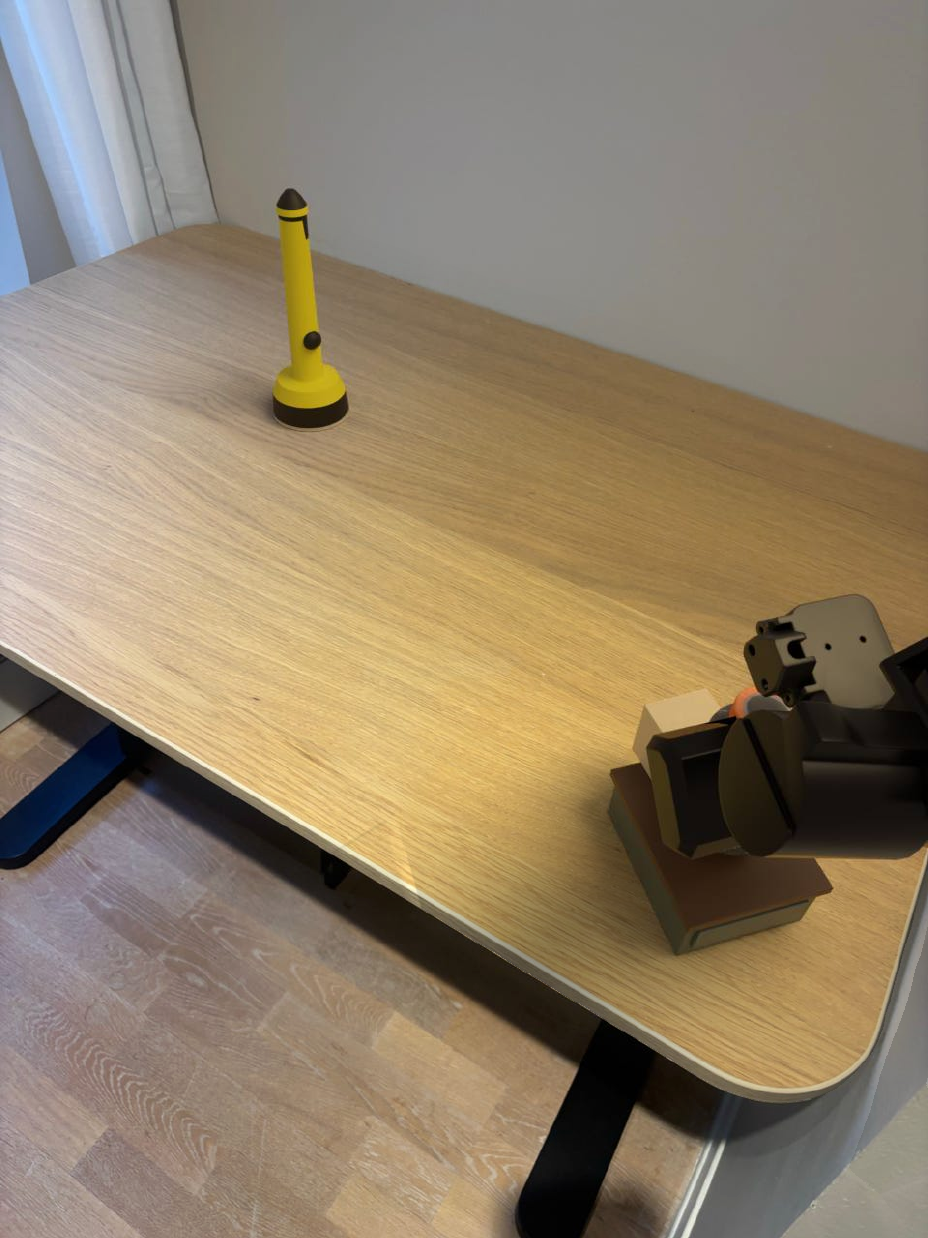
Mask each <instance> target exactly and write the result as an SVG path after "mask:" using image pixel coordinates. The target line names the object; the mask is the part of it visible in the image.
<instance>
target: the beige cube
mask: <svg viewBox="0 0 928 1238" xmlns="http://www.w3.org/2000/svg"><path fill="white" fill-rule="evenodd" d="M721 708H722V707H721V706H720V705H719V703H718V702H717V700H716V699H715V698H714V697H713V695H712V694H711V692H710V691H709V690H708V689H707V687H704V688H701V689H697V690H693V691H690V692H686V693H683V694H679V695H675V696H670V697H667V698H664V699H659V700H657V701H652V702H649V703H644V704H643V706H642V711H641V714H640V719H639V722H638V725H637V729H636V732H635V737H634V739H633V744H632V748H631V749H632V751H633V753H634V754H635V756H636V758H637V760H638V761H639V763H641V764H642V766H643V767H644V769H645V771H646V772H647V774H648V776H649V777H650V779H651V775H650V769H649V764H648V758H647V753H646V746H647V745H648V743H649V741H650V740H651V738H652V737H653V735H656V734H660V733H664V732H669V731H673V730H677V729H681V728H686V727H690V726H694V725H699V724H703V723H707V722H709V721H710V719H711V718H712V716H713V715H714V714H715V713H716V712H717V711H718V710H720V709H721Z"/></svg>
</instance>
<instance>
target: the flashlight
mask: <svg viewBox="0 0 928 1238" xmlns="http://www.w3.org/2000/svg"><path fill="white" fill-rule="evenodd" d="M275 213H276V214H277V217H278V226H279V227H278V229H279V239H280V250H281V261H282V262H281V263H282V273H283V284H284V295H285V306H286V319H287V329H288V330H287V331H288V340H289V341H288V342H289V353H290V362H291V363H290V364H289V365H286V366H285V367H284V368H282V369H281V370H280V371H279V372H278V374H277V376H276V379H275V382H274V385H273V387H272V408H273V409H272V413H273V414H272V415H273V417H274V420H275V421H276V422H277V423H278V424H279V425H281V426H282V427H285V428H286V429H290V430H293V431H299V432H309V433H311V432H320V431H326V430H329V429H332V428H335V427H337V426H339V425H340V424H342V423H343V422H345V420H347V418H348V416H349V413H350V406H349V400H348V393H347V386H346V383H345V382H344V381H343V378H342V377H341V376H340V375H341V374H339V372H338V371H337V369H335V367H334V366H332V365H329V364H326V363H324V362H323V359H322V358H323V357H322V347H321V343H322V337H321V334H320V330H319V320H318V310H317V301H316V292H315V291H316V290H315V283H314V282H315V281H314V273H313V271H314V270H313V263H312V255H311V254H312V253H311V244H310V243H311V242H310V234H309V223H308V222H309V221H308V214H309V206H308V203H307V201H306V200H305V199H304V198H303V196H302V195H301V194H300V193H299V192H298V191H297V190H296V189H295V188H292V187H289V188H288V187H287V188H286V189H284V191H283V193H281V195H280V196H279V198H278V200H277V202H276V205H275Z"/></svg>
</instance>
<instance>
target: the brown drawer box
mask: <svg viewBox="0 0 928 1238" xmlns="http://www.w3.org/2000/svg"><path fill="white" fill-rule="evenodd" d="M609 777H610V779H611V781H612V784H613V785H614V786H613V790H612V793H611V796H610V800H609V803H608V807H607V814H608V816H609V818H610V820H611V822H612V824H613V826H614V828H615V830H616V833H617V835H618V837H619V840H620V841H621V843H622V846H623V848H624V849H625V852H626V854H627V856H628V859H629V860H630V863H631V865H632V866H633V867H632V868H634V871H635V873H636V875H637V877H638V878H639V881H640V883H641V885H642V888H643V890H644V892H645V895H646V896H647V898H648V901H649V902H650V904H651V906H652V907H651V908H652V909H653V911H654V913H655V915H656V917H657V919H658V921H659V924H660V926H661V928H662V931H663V932H664V934H665V936H666V939H667V940H668V943H669V945H670V947H671V949H672V951H673V954H674V956H676V957H677V956H680V955H684V954H687V953H691V952H694V951H698V950H701V949H705V948H708V947H711V946H715V945H718V944H722V943H726V942H729V941H733V940H736V939H740V938H742V937H746V936H751V935H754V934H757V933H760V932H764V931H767V930H771V929H775V928H778V927H783V926H785V925H788V924H792V923H795V922H799V921H802V919H803V918H804V916H805V915H806V913H807V912H808V910H809V909H810V907H811V906H812V905H813V903H814V902H815V900H816V899H817V898H818V897H821V896H825V895H828V894H831V893H832V891H833V890H834V886H833V884H832V883H831V881H830V879H829V878H828V877H827V875H826V873H825V872H824V870H823V869H822V867H821V866H820V864H819V863H818V860H816V858H777V857H758V856H753V855H751V854H749V853H748V854H744V855H728V854H723V853H719V852H717V853H713V854H710V855H706V856H702V857H699V858H695V859H689V858H687V857H685V856H683V855H681V854H679V853H678V852H676V851H674V850H672V849H671V848H669V847H668V846H666V845H665V844H664V843H663V841H662V835H661V830H660V824H659V819H658V813H657V808H656V802H655V797H654V791H653V786H652V780H651V779H650V777H649V776H648V774H647V772H646V771H645V769H644V767H643V766H642V764H641V763H640V762H637V763H632V764H628V765H623V766H618V767H615V768H611V769H610V771H609Z"/></svg>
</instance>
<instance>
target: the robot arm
mask: <svg viewBox="0 0 928 1238" xmlns="http://www.w3.org/2000/svg"><path fill="white" fill-rule="evenodd" d="M755 632H756V635H755V636H753V637H751V638H749V640H748V641H745V643H744V645H743V657H744V660H745V664H746V666H747V668H748V671H749V675H750V677H751V680H752V682H753V684H754V685H753V686H755V687H756V690H757V691H758V692H759V693H760V694H761V695H762V696H764V697H770V696H774V695H776V696H779V697H780V698H781V699H782V700H783V703H784V704H785V706H786V707H788V708H792V710H790V711H778V710H762V709H761V710H756V711H752V712H750V713H749V714H747V715H746V716H744V717H743V718H738V719H737V717H736V716H733V717H729V718H724V719H720V720H716V721H711V722H707V723H703V724H699V725H694V726H690V727H686V728H681V729H677V730H673V731H669V732H664V733H660V734H656V735H653V737H652V738H651V740H650V741H649V743H648V745H647V746H646V753H647V758H648V764H649V769H650V775H651V780H652V786H653V791H654V797H655V802H656V808H657V813H658V819H659V824H660V830H661V835H662V841H663V843H664V844H665V845H666V846H668V847H669V848H671V849H672V850H674V851H676V852H678V853H679V854H681V855H683V856H685V857H687V858H689V859H695V858H699V857H702V856H706V855H710V854H713V853H717V852H721V851H724V850H728V849H732V848H735V847H739V846H740V847H741V848H742V849H743V850H745V851H746V852H748V853H749V854H751V855H753V856H758V857H777V858H815V859H829V860H830V859H836V860H837V859H839V860H881V861H882V860H886V861H887V860H888V861H889V860H891V861H897V860H903V859H908V858H910V857H912V856H913V855H915V854H916V853H918V852H920V851H921V850H922V848H925V849H928V636H925V637H924V638H922V639H920V640H918V641H915V643H912V644H910V645H908V646H907V647H904V648H903V649H901V650H899V651H897V652H895V650H894V647H893V645H892V642H891V640H890V638H889V636H888V634H887V631H886V629H885V627H884V624H883V622H882V620H881V618H880V615H879V613H878V610H877V608H876V606H875V605H874V603H873V602H872V601H871V600H870V599H869V598H867V597H866V596H864V595H863V594H859V593H851V594H849V593H848V594H844V595H840V596H835V597H830V598H825V599H820V600H815V601H811V602H806V603H802V604H798V605H796V606H795V607H794V608H793V609H791V610H790V611H789V612H787V613H785V614H784V615H781V616H777V617H776V616H775V617H773V618H767V619H762V620H759V621H757V622H756V624H755Z"/></svg>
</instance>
